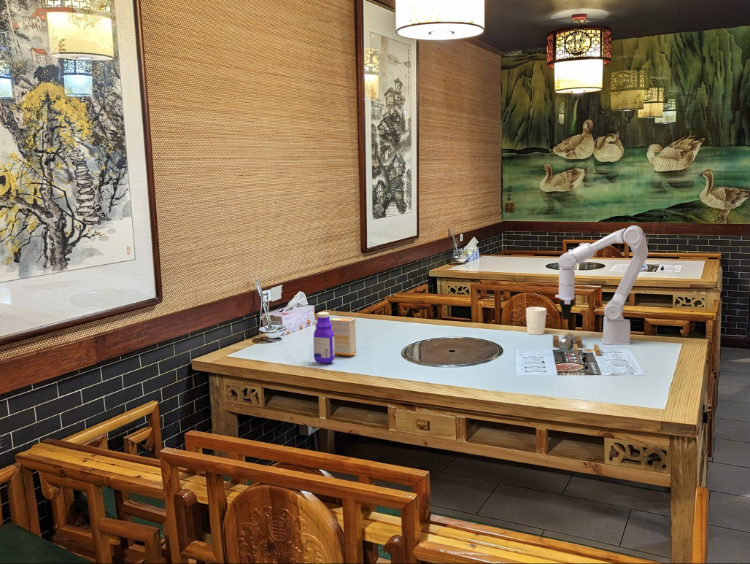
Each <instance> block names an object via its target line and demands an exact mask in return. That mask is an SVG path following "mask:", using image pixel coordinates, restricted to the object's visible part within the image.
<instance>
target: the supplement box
mask: <svg viewBox="0 0 750 564" xmlns="http://www.w3.org/2000/svg"><path fill="white" fill-rule="evenodd" d="M330 322H331V324H332V326H331V329H332V330H333V332H334V342H335V355H342V356H349V357H350V356H353V355H355V354H356V353H357V336H356V335H357V333H356V318H352V317H338V316H337V317H333V318H331V319H330Z"/></svg>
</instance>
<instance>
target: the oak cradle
mask: <svg viewBox="0 0 750 564" xmlns="http://www.w3.org/2000/svg"><path fill="white" fill-rule="evenodd" d="M578 350H585V351H588V352H591V351H594V352H595V355H596V356H595V357H601V349H600V345H599V344H598V343H596V344H594V345H593V349H591V348H590V349H588V348H578V346H577V344H575V343H573V344H572V352H573V351H574V352H573V355H574V354H577V355H578Z"/></svg>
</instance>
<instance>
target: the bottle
mask: <svg viewBox="0 0 750 564" xmlns="http://www.w3.org/2000/svg"><path fill="white" fill-rule="evenodd" d="M316 320H317V321H316V323H315V329H314V332H313V358H314V361H315V362H316V363H324V364H329V363H331V362H333V361H334V360H335V358H336V357H335V355H336V354H335V342H334V332H333V330H332V329H331V326H332V324H331V322H330V320H331V319H330V312H328V311H320V312H318V313H317V319H316Z"/></svg>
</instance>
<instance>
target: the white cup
mask: <svg viewBox="0 0 750 564" xmlns="http://www.w3.org/2000/svg"><path fill="white" fill-rule="evenodd" d="M525 312H526V313H525V314H526V315H525V317H526V318H525V319H526V332H527V334H528V335H534V336H541V335H544V334H545V331H546V330H545V329H546V328H545V327H546V319H547V308H546V307H543V306H542V307H541V306H529V307H526V308H525Z"/></svg>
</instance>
